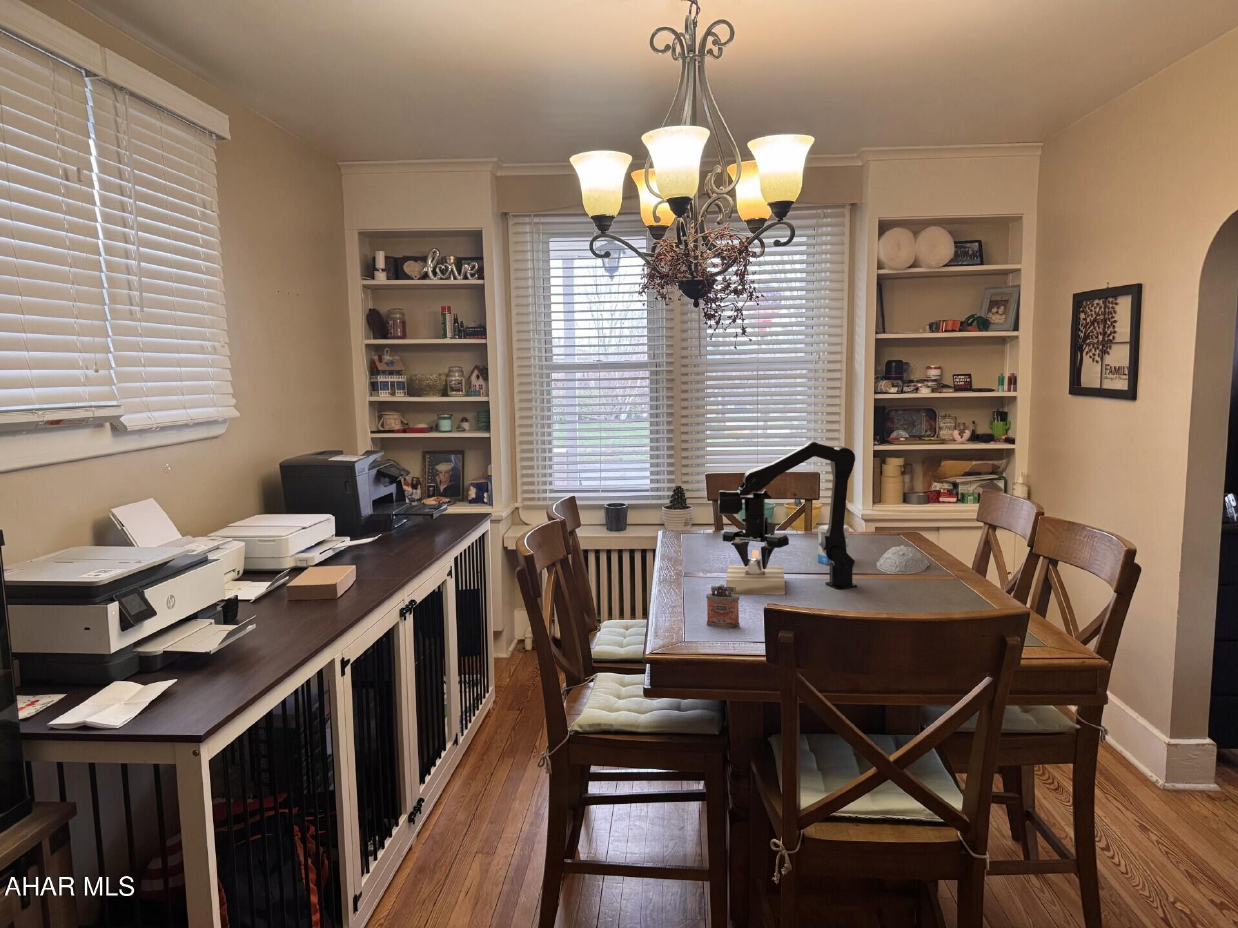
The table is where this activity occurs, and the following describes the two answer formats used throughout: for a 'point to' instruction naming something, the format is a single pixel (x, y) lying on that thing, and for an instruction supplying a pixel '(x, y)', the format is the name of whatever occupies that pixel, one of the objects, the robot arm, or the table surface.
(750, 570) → the cylinder
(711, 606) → the lighter
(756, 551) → the pin
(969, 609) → the table surface
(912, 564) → the grey textured dome
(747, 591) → the dock
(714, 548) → the table surface
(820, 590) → the table surface
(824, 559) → the ink box
